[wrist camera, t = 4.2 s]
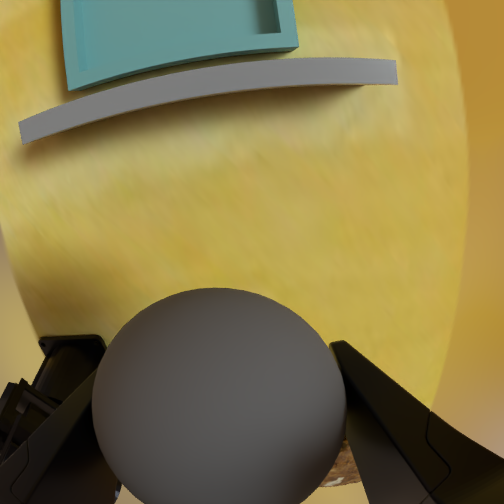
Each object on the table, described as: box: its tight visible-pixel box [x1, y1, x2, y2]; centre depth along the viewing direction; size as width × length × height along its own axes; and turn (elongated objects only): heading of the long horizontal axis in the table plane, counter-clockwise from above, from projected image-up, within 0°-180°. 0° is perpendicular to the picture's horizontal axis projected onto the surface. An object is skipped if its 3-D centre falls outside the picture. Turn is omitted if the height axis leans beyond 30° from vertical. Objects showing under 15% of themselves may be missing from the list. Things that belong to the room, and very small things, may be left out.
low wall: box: [18, 58, 398, 145], centre depth 14 cm, size 18×1×4 cm, turn 97°
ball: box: [92, 288, 347, 504], centre depth 7 cm, size 6×6×6 cm
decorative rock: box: [319, 439, 362, 487], centre depth 32 cm, size 11×4×15 cm
